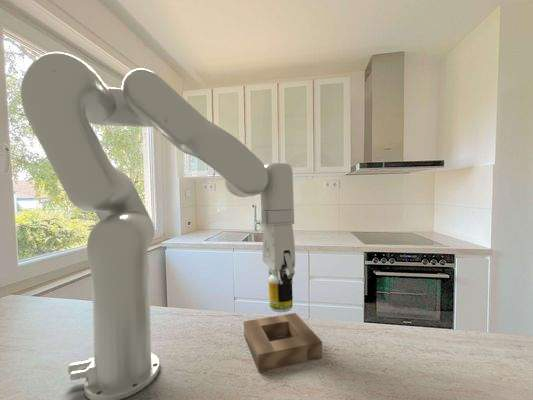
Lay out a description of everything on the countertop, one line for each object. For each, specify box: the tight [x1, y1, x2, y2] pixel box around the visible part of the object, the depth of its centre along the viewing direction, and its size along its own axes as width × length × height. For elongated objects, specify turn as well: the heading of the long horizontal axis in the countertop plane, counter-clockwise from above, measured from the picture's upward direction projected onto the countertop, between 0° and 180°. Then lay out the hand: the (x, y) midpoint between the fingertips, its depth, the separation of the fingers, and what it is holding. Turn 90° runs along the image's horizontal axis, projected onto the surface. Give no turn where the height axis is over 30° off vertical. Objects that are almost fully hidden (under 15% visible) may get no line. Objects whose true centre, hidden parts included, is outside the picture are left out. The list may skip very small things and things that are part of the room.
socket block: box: [243, 312, 323, 373], centre depth 57 cm, size 14×14×4 cm
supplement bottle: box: [268, 266, 293, 313], centre depth 57 cm, size 5×5×10 cm
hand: (280, 295), depth 57 cm, fingers closed on supplement bottle, 5 cm apart
